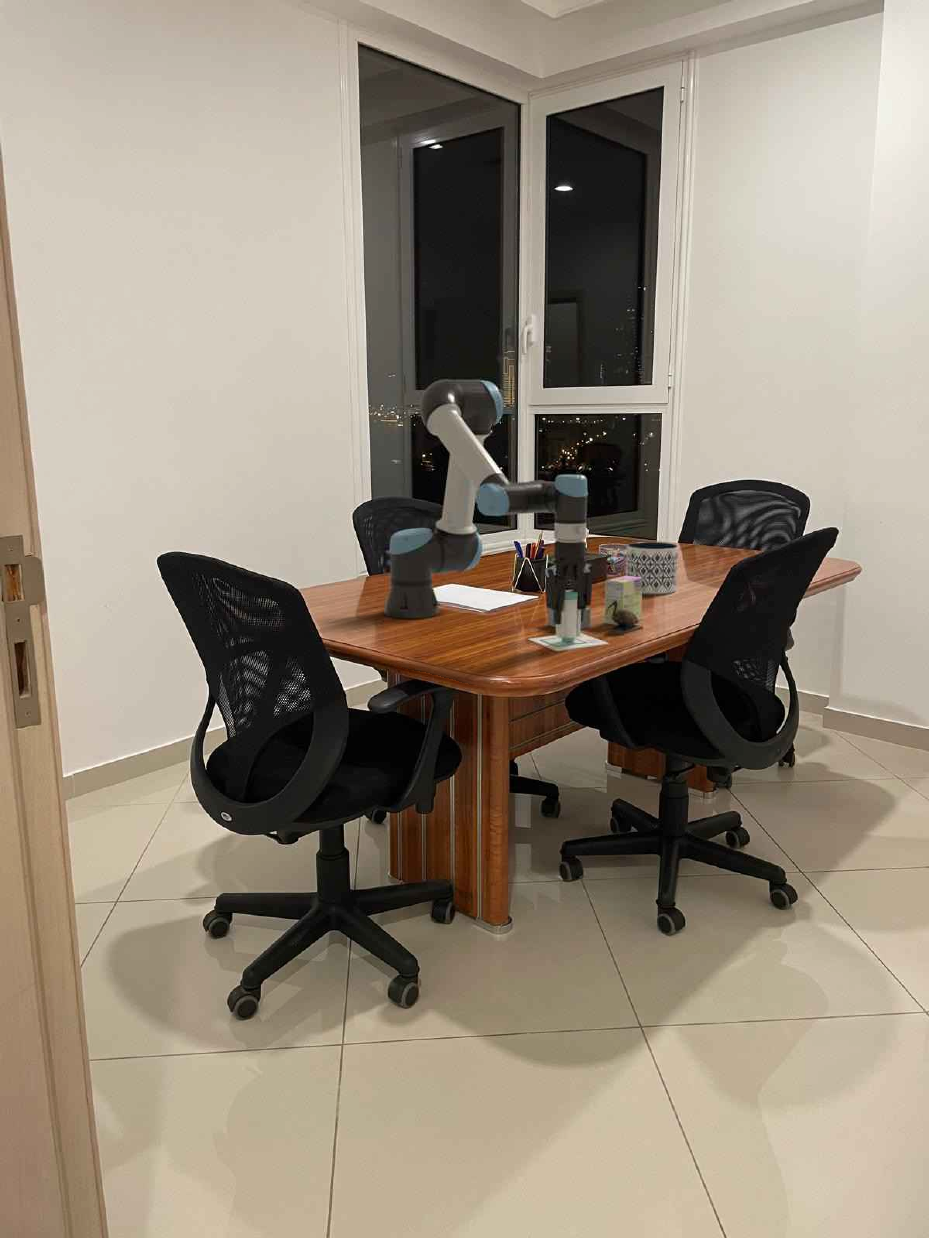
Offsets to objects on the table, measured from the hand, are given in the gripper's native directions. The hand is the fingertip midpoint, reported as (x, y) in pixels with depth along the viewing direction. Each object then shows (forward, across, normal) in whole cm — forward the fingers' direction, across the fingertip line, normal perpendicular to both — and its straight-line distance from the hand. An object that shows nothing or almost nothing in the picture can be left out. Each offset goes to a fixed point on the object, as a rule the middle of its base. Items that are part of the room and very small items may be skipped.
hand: (568, 635), depth 232 cm
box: (+2, +27, +14) cm, 31 cm away
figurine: (+2, +19, +5) cm, 20 cm away
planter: (+2, +63, +48) cm, 79 cm away
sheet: (+2, +1, +1) cm, 2 cm away
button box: (+2, +11, +16) cm, 20 cm away
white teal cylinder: (+1, 0, 0) cm, 1 cm away
